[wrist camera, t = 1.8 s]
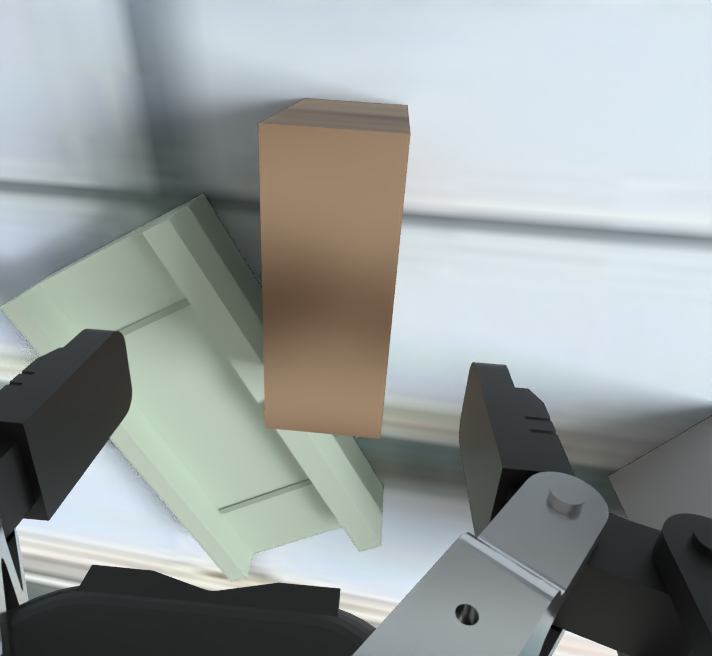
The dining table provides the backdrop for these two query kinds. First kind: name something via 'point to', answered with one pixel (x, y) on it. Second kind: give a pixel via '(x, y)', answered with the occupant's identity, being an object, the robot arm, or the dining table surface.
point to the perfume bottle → (669, 479)
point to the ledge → (204, 390)
